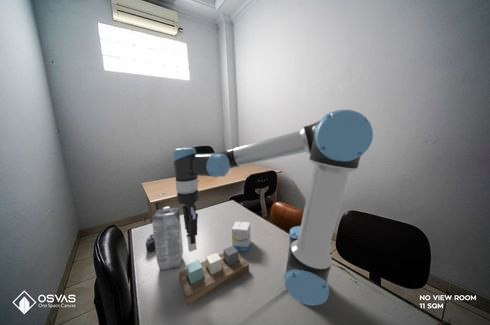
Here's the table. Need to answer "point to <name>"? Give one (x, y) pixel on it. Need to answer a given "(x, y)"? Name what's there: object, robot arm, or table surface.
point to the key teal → (195, 272)
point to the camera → (150, 244)
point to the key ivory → (214, 263)
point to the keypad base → (212, 279)
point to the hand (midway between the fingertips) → (192, 249)
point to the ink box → (241, 236)
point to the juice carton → (168, 238)
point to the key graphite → (231, 255)
